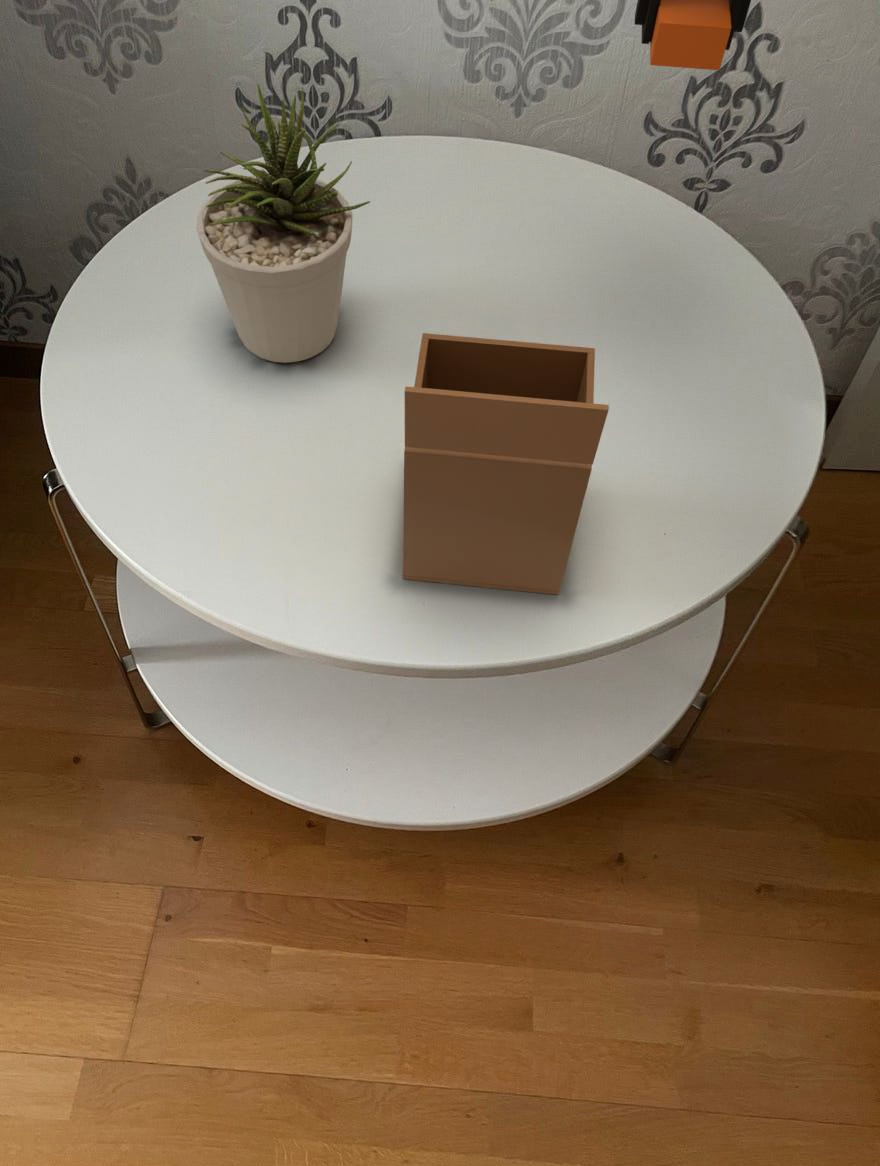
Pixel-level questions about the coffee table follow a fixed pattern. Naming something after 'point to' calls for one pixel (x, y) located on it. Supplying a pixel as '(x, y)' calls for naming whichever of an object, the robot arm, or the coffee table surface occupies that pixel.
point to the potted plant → (279, 245)
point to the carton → (494, 474)
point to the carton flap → (503, 425)
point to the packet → (691, 34)
